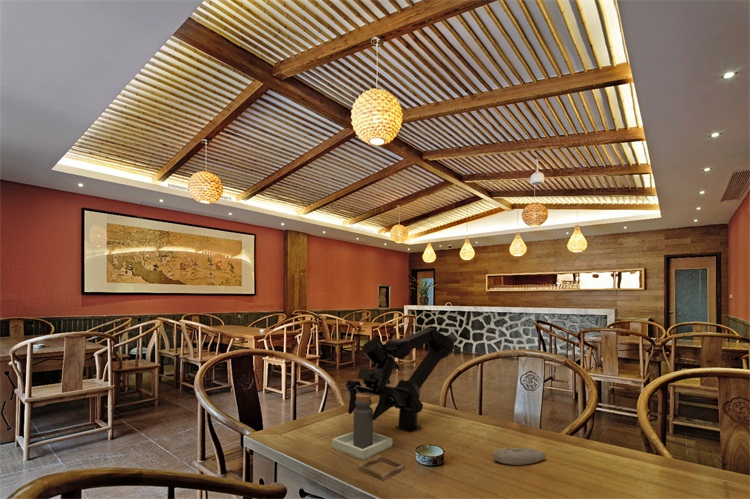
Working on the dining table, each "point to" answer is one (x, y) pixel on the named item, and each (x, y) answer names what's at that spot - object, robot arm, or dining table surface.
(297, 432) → the dining table surface
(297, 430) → the dining table surface
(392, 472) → the seat frame
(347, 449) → the tray
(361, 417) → the bottle
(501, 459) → the decorative stone
